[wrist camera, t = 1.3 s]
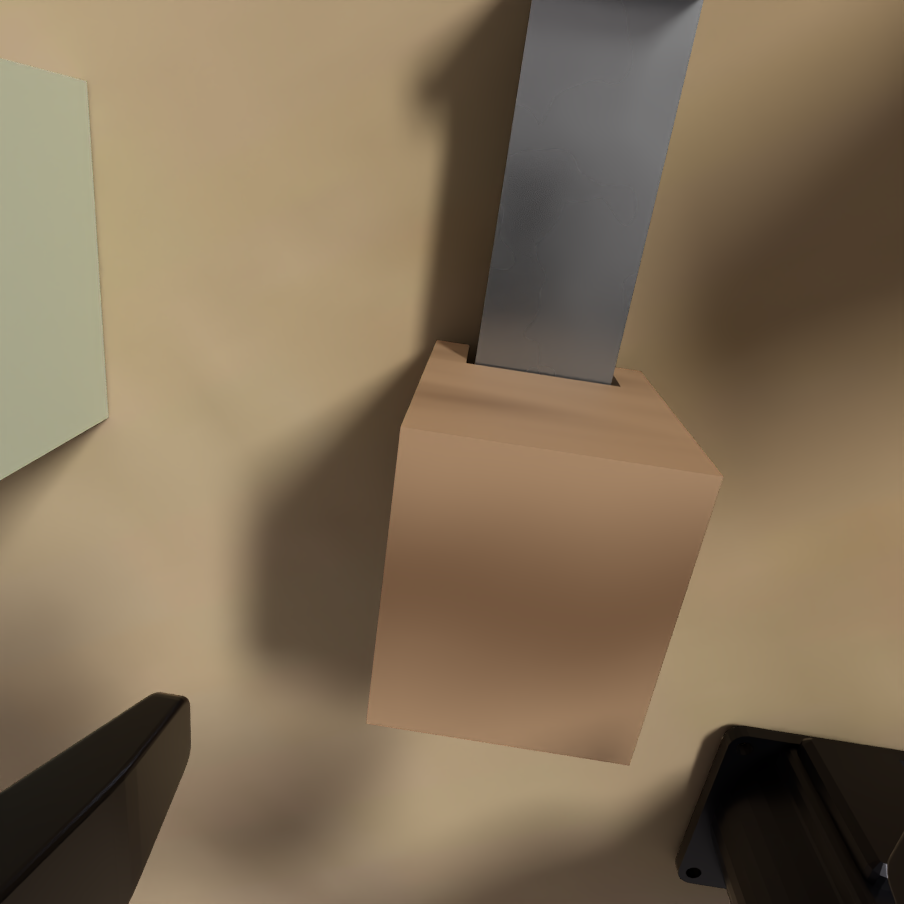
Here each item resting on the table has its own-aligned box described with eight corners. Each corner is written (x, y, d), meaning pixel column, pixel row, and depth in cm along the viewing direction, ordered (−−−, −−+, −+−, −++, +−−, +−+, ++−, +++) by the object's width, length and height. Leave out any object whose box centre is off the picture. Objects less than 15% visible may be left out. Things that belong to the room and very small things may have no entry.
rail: (543, 597, 19) (552, 674, 16) (440, 581, 19) (429, 655, 16) (686, -25, 13) (741, -87, 10) (539, -47, 13) (550, -115, 10)
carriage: (587, 579, 18) (629, 765, 12) (408, 552, 18) (365, 723, 12) (640, 371, 16) (723, 476, 10) (436, 340, 16) (400, 426, 10)
